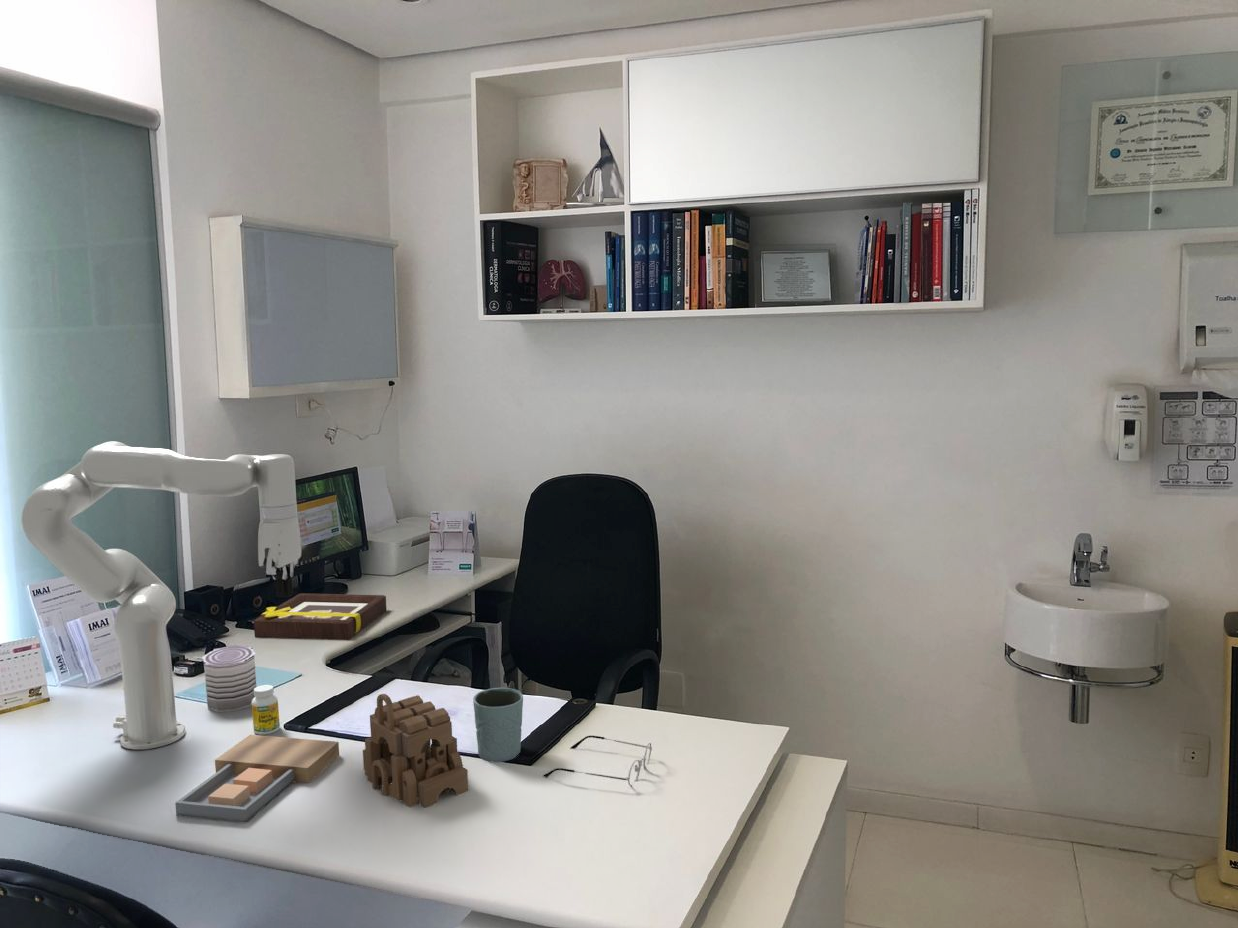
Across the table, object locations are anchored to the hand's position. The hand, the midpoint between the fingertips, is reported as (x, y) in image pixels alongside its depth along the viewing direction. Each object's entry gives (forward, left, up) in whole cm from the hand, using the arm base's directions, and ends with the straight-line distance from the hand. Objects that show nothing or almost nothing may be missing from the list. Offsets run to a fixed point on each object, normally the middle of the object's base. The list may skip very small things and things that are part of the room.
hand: (284, 595), depth 212 cm
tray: (+8, -33, -29) cm, 45 cm away
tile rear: (+9, -29, -29) cm, 42 cm away
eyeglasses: (+72, -9, -30) cm, 78 cm away
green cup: (+50, -6, -29) cm, 58 cm away
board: (+8, -19, -29) cm, 36 cm away
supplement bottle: (-4, -4, -29) cm, 30 cm away
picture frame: (-31, +69, -30) cm, 81 cm away
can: (-21, +9, -29) cm, 37 cm away
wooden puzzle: (+37, -20, -30) cm, 52 cm away
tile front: (+8, -36, -26) cm, 45 cm away
